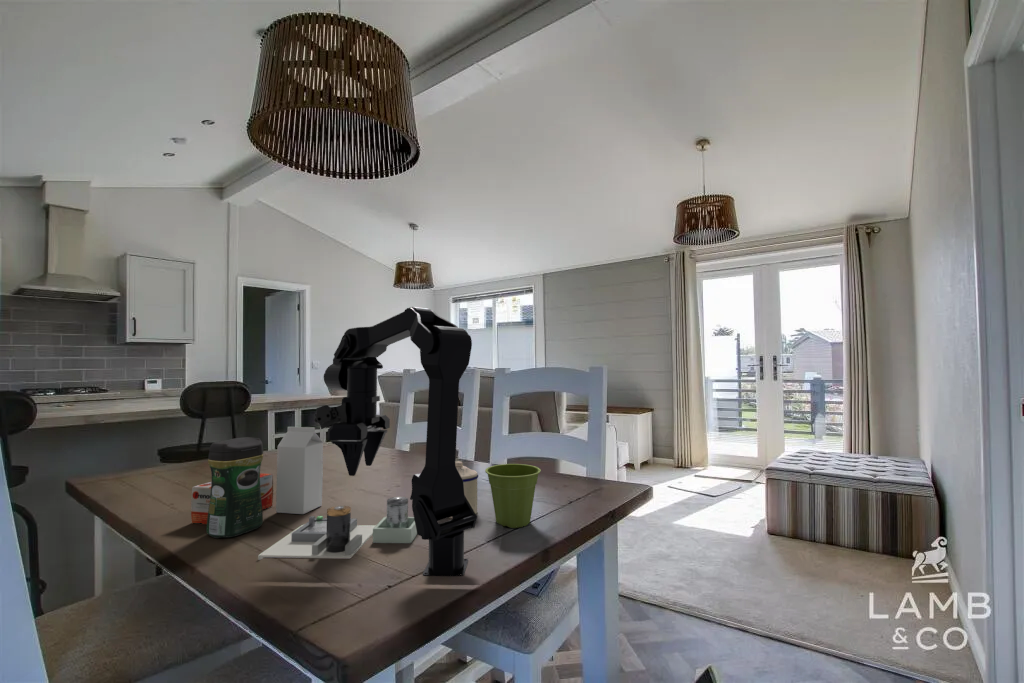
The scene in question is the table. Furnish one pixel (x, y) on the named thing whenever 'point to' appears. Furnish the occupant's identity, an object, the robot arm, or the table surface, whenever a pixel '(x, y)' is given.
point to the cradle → (316, 525)
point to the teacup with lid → (468, 484)
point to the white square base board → (317, 543)
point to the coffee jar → (235, 487)
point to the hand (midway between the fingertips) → (360, 470)
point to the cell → (338, 528)
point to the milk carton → (299, 471)
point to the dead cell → (397, 512)
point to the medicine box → (204, 490)
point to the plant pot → (513, 492)
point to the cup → (394, 532)
